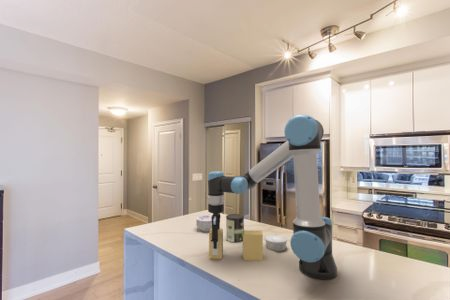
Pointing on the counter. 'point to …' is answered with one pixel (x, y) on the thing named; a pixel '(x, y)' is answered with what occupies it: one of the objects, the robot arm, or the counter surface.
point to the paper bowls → (204, 223)
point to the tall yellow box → (252, 245)
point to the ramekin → (276, 242)
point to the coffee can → (234, 228)
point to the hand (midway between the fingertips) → (216, 251)
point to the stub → (220, 245)
